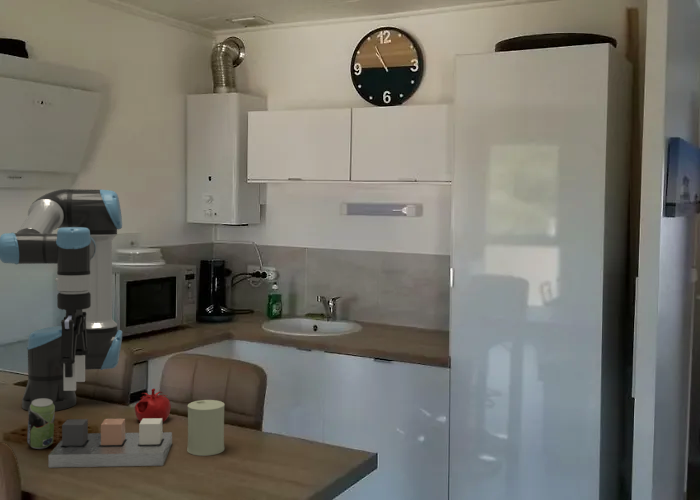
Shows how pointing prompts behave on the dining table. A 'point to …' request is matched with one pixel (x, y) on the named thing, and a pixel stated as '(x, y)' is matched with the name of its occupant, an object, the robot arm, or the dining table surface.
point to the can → (205, 427)
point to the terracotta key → (113, 432)
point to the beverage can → (41, 423)
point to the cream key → (150, 431)
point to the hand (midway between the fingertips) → (74, 385)
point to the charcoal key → (74, 432)
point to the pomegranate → (153, 406)
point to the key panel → (111, 453)
